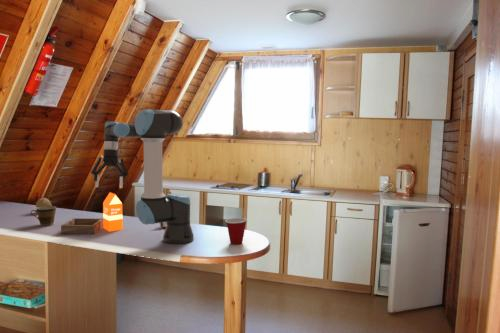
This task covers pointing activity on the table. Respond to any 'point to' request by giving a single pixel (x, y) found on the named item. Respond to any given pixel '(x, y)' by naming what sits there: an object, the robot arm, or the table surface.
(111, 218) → the orange juice
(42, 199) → the natural sponge
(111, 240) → the table surface
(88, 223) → the tray
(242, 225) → the plastic cup
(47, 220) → the ceramic cup
